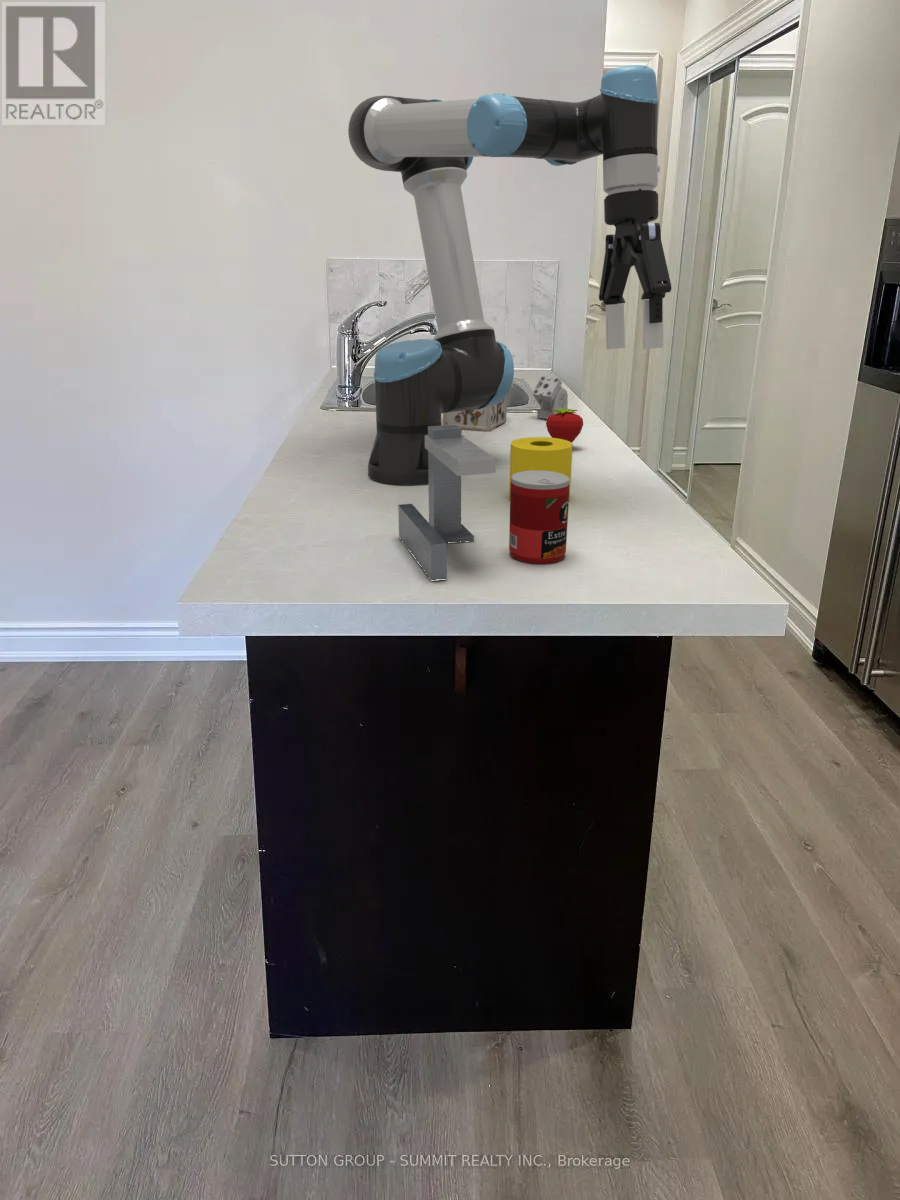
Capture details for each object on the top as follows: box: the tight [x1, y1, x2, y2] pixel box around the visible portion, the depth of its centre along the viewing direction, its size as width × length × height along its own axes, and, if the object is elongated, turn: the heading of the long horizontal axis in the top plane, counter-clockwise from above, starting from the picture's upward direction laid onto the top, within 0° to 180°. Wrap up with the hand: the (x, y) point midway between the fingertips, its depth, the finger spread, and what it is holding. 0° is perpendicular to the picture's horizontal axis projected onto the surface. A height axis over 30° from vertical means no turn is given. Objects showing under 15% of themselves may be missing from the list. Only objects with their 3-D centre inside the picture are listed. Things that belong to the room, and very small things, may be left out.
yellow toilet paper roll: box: [508, 436, 573, 503], centre depth 149 cm, size 10×10×9 cm
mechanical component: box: [531, 375, 569, 420], centre depth 213 cm, size 5×8×10 cm
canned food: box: [508, 470, 571, 565], centre depth 122 cm, size 8×8×11 cm
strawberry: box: [545, 401, 584, 444], centre depth 183 cm, size 6×8×10 cm
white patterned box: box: [442, 394, 508, 432], centre depth 205 cm, size 12×12×18 cm
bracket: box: [397, 424, 497, 581], centre depth 122 cm, size 10×20×16 cm, turn 16°
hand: (633, 348), depth 133 cm, fingers open, 13 cm apart
